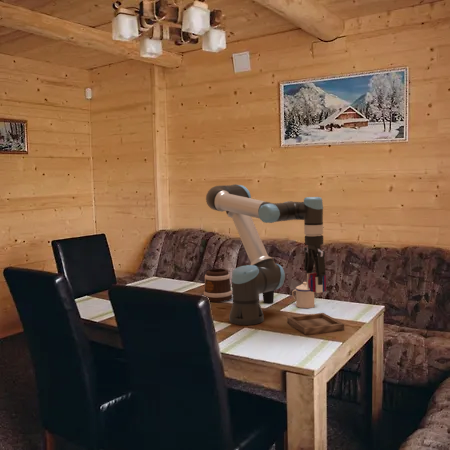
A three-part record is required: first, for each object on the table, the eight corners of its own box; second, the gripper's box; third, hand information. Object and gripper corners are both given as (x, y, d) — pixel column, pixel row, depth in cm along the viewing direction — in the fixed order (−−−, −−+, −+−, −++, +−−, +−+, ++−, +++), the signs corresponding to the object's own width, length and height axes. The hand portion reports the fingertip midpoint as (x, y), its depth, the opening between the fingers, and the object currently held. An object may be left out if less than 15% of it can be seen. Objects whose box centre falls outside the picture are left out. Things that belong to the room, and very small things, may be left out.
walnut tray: (305, 335, 196) (305, 329, 195) (287, 322, 213) (287, 316, 213) (344, 330, 200) (344, 324, 200) (323, 318, 218) (323, 312, 217)
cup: (329, 290, 205) (329, 274, 205) (314, 294, 199) (313, 277, 198) (316, 288, 210) (316, 272, 210) (301, 292, 204) (300, 275, 203)
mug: (238, 299, 256) (237, 270, 254) (213, 304, 247) (212, 274, 246) (217, 292, 272) (217, 265, 271) (193, 296, 264) (192, 268, 263)
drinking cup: (278, 301, 249) (278, 261, 247) (271, 305, 242) (270, 264, 241) (265, 299, 253) (264, 260, 251) (258, 303, 247) (257, 263, 245)
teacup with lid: (318, 305, 239) (318, 281, 238) (307, 309, 232) (307, 285, 231) (297, 301, 247) (297, 278, 246) (287, 305, 241) (286, 281, 240)
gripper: (334, 236, 195) (335, 294, 197) (311, 232, 213) (312, 284, 216) (316, 238, 192) (317, 296, 195) (295, 233, 211) (296, 286, 213)
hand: (314, 290), depth 205 cm, fingers closed on cup, 7 cm apart
